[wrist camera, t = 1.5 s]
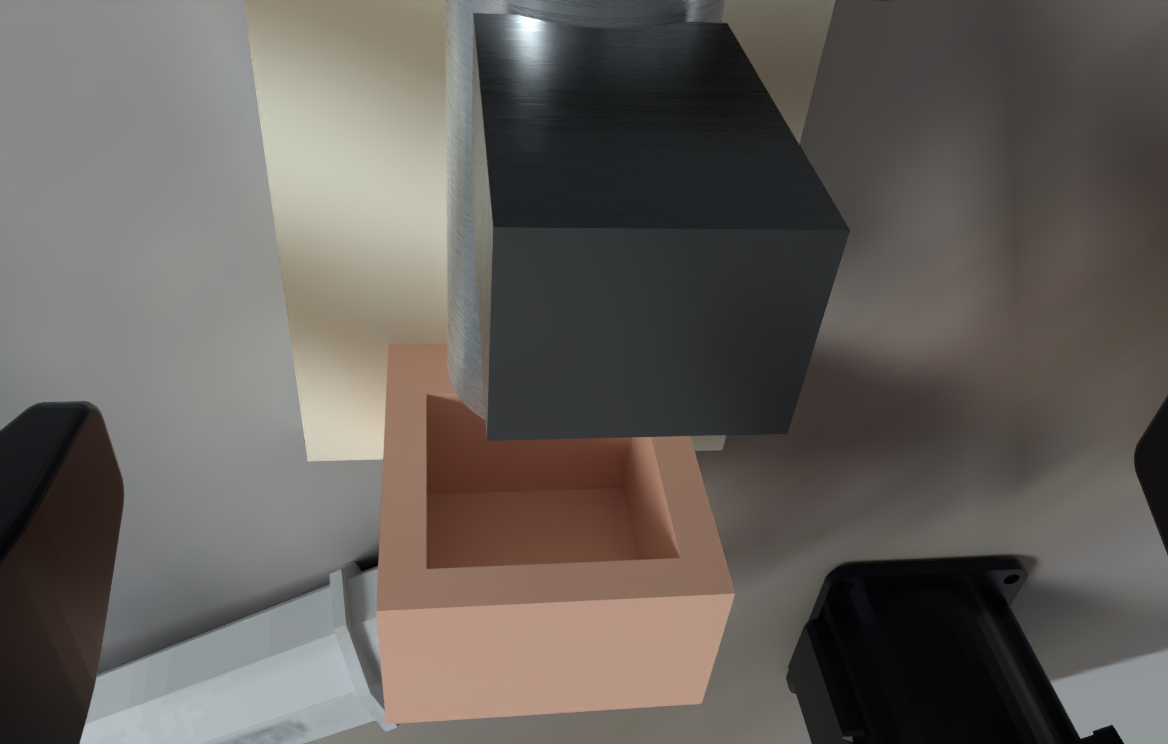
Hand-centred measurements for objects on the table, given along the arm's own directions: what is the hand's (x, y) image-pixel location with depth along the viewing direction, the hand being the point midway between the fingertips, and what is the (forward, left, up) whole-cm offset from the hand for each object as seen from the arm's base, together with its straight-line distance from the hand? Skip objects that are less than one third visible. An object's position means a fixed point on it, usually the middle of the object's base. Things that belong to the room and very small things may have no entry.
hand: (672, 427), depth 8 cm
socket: (0, +10, -11) cm, 14 cm away
